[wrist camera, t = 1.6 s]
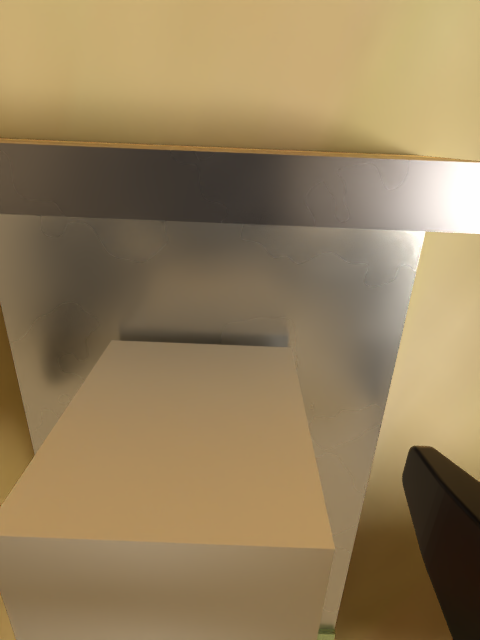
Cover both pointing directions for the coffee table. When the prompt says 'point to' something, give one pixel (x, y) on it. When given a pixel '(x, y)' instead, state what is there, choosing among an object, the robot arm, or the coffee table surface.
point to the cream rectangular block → (172, 504)
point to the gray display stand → (226, 276)
